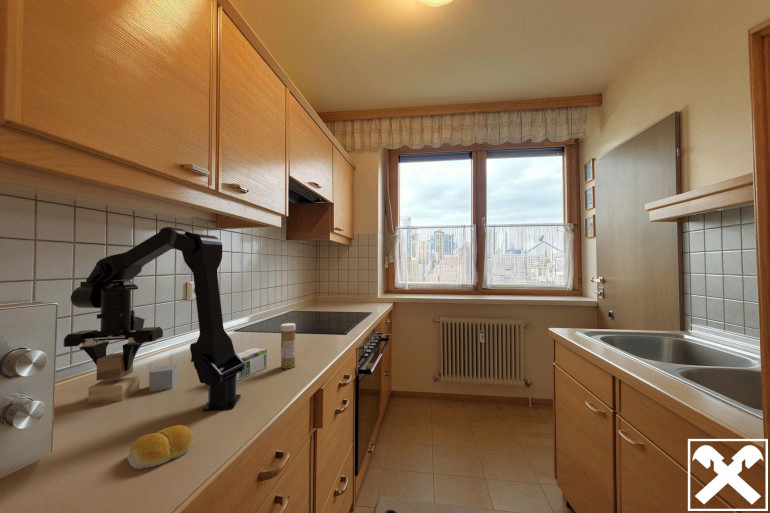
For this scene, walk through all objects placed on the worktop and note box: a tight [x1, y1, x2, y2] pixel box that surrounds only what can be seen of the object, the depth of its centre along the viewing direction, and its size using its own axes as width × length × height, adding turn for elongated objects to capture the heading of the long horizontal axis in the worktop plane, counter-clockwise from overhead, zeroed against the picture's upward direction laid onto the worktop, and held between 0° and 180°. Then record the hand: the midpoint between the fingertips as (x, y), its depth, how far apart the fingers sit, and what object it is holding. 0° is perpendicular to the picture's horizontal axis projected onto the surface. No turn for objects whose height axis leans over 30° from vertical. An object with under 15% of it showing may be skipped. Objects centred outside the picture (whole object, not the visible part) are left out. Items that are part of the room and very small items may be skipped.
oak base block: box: [87, 374, 141, 405], centre depth 77 cm, size 7×7×4 cm
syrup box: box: [219, 347, 268, 382], centre depth 91 cm, size 6×6×14 cm
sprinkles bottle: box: [280, 322, 296, 369], centre depth 97 cm, size 5×5×13 cm
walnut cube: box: [96, 352, 134, 381], centre depth 77 cm, size 5×5×5 cm
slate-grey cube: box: [148, 363, 178, 393], centre depth 82 cm, size 5×5×5 cm
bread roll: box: [127, 424, 194, 470], centre depth 53 cm, size 8×9×4 cm
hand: (115, 371), depth 77 cm, fingers closed on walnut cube, 5 cm apart
